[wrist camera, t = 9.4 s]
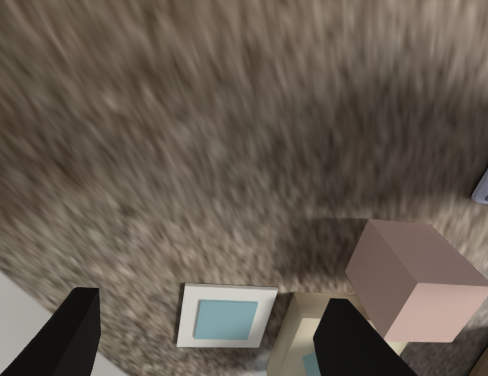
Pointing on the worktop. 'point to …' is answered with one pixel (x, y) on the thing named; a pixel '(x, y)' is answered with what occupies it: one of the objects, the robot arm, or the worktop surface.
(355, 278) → the rose cube
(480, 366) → the wooden block
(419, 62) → the worktop surface
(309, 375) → the teal cube
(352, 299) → the birch block
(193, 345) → the card
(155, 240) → the worktop surface
